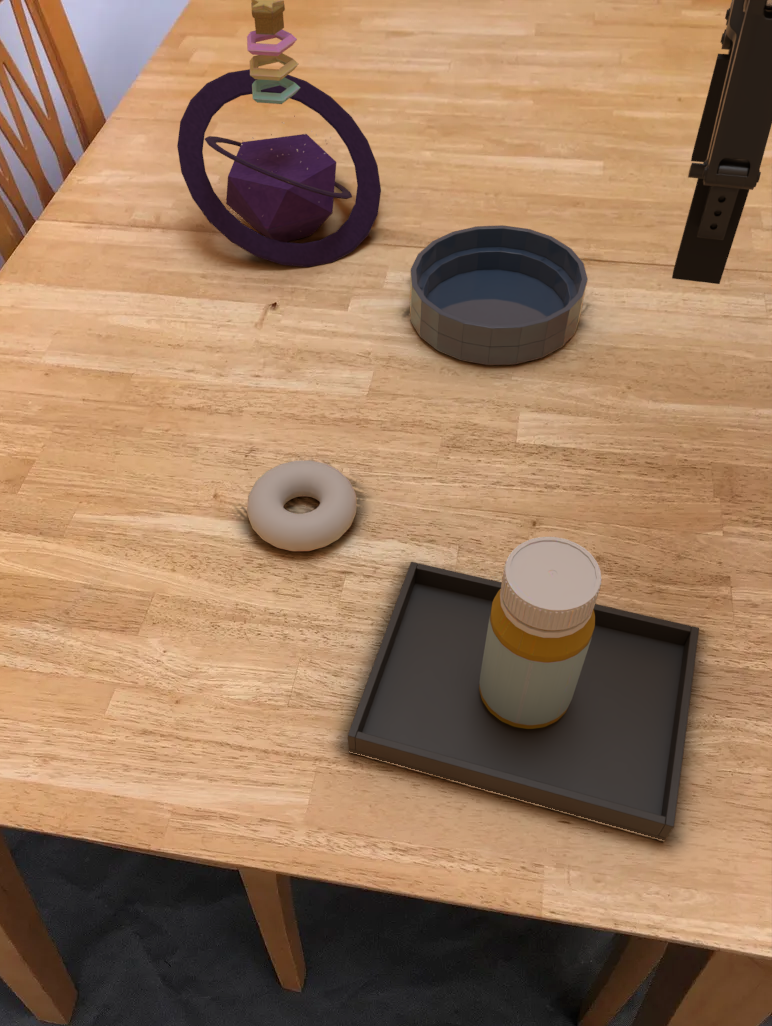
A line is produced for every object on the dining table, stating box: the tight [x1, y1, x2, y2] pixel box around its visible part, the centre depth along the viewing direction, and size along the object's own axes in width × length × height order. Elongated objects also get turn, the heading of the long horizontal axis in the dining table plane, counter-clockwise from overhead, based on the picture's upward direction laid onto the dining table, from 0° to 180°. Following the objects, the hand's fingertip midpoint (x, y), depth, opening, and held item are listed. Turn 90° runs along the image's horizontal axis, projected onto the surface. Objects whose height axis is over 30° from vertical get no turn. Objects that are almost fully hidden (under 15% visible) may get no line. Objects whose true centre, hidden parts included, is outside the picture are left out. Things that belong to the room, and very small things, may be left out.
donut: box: [246, 459, 358, 552], centre depth 83 cm, size 10×4×10 cm
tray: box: [347, 561, 700, 841], centre depth 71 cm, size 23×17×3 cm
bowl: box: [409, 224, 589, 366], centre depth 99 cm, size 18×18×5 cm
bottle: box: [479, 536, 602, 729], centre depth 65 cm, size 7×7×15 cm
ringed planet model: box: [176, 0, 382, 268], centre depth 103 cm, size 22×21×25 cm
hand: (704, 215), depth 59 cm, fingers open, 13 cm apart
